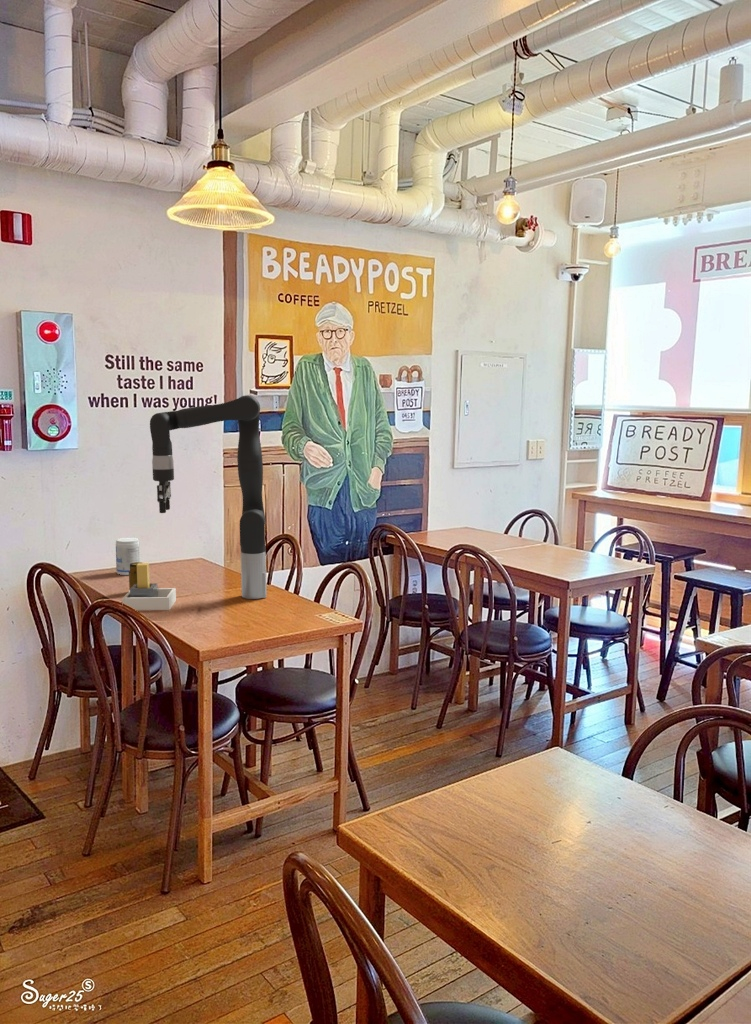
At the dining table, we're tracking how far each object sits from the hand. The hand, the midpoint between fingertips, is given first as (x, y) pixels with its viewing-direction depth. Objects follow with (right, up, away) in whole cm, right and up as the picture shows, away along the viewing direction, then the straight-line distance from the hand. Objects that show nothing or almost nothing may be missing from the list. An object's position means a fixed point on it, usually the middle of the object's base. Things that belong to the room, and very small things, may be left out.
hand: (164, 511), depth 299 cm
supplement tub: (-27, -27, +45) cm, 59 cm away
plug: (-5, -31, -9) cm, 32 cm away
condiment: (-13, -32, +9) cm, 36 cm away
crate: (-3, -34, -8) cm, 35 cm away
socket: (-5, -34, -8) cm, 35 cm away
